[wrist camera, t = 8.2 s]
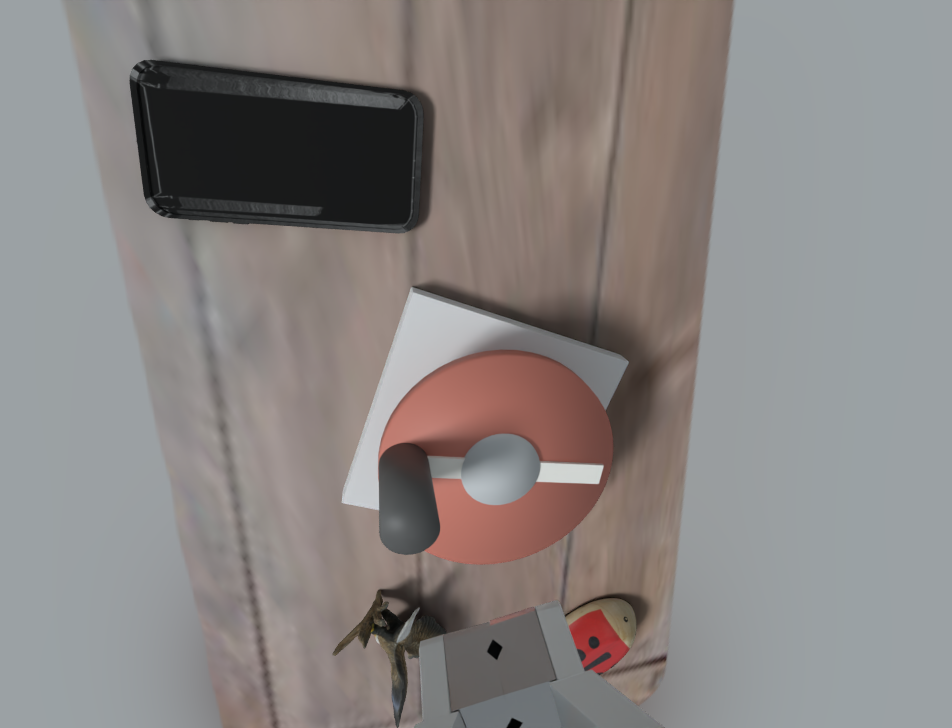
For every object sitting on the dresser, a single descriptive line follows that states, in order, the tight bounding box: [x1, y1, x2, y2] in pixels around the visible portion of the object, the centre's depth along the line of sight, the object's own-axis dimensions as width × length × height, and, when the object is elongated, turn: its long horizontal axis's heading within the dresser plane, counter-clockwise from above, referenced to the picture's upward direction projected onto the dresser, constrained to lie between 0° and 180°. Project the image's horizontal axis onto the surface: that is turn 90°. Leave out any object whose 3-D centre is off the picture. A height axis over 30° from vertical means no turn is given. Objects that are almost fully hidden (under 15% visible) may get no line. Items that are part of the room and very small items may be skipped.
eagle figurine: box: [333, 590, 446, 728], centre depth 42 cm, size 8×7×9 cm
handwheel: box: [378, 349, 614, 564], centre depth 31 cm, size 15×15×7 cm
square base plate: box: [342, 287, 629, 510], centre depth 36 cm, size 16×16×4 cm
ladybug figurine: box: [565, 598, 636, 675], centre depth 47 cm, size 7×10×4 cm
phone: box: [130, 60, 424, 233], centre depth 30 cm, size 8×1×15 cm
